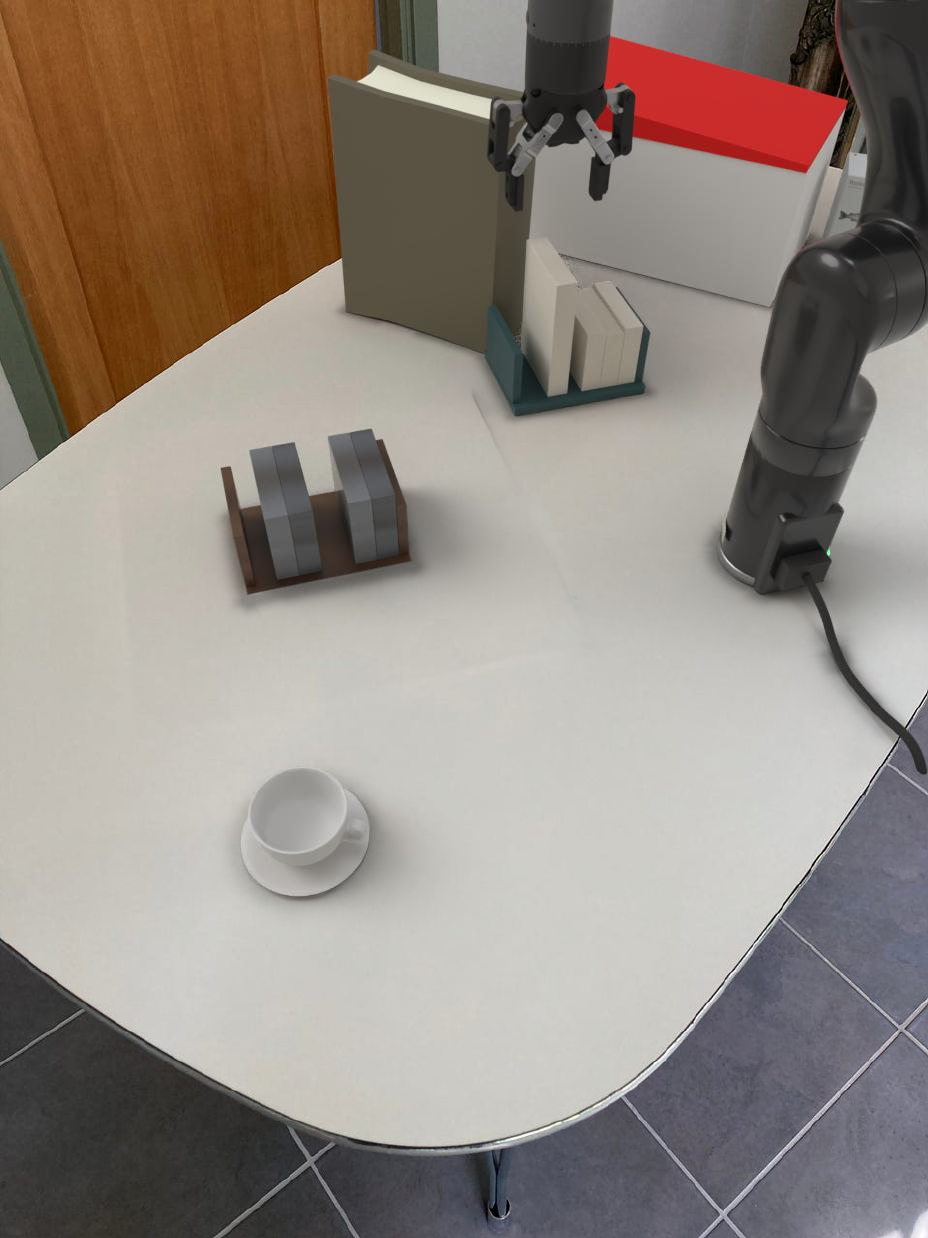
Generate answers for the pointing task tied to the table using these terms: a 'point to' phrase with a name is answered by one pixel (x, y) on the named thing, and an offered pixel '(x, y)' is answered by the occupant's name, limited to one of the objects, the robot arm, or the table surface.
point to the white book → (548, 315)
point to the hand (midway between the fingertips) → (556, 202)
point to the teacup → (303, 832)
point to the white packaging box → (847, 196)
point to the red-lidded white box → (694, 176)
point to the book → (426, 202)
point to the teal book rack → (576, 354)
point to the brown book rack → (319, 515)
